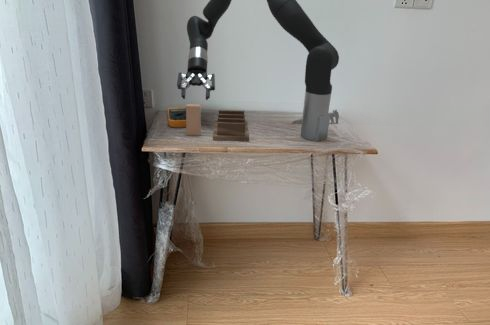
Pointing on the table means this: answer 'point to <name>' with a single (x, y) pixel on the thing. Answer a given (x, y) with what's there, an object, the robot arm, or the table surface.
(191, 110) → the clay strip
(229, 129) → the ridged wooden board
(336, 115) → the caliper
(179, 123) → the multimeter
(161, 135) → the table surface
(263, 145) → the table surface
